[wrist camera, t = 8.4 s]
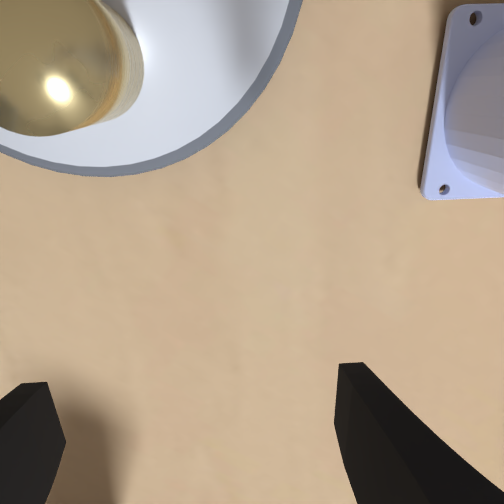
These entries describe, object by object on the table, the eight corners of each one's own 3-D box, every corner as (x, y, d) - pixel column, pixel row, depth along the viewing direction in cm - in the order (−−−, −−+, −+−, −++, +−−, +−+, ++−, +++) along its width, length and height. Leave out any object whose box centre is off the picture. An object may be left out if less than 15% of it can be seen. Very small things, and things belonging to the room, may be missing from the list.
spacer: (129, -12, 12) (80, -61, 8) (154, 116, 14) (124, 127, 10) (9, 2, 12) (-101, -41, 8) (48, 128, 14) (-27, 144, 10)
